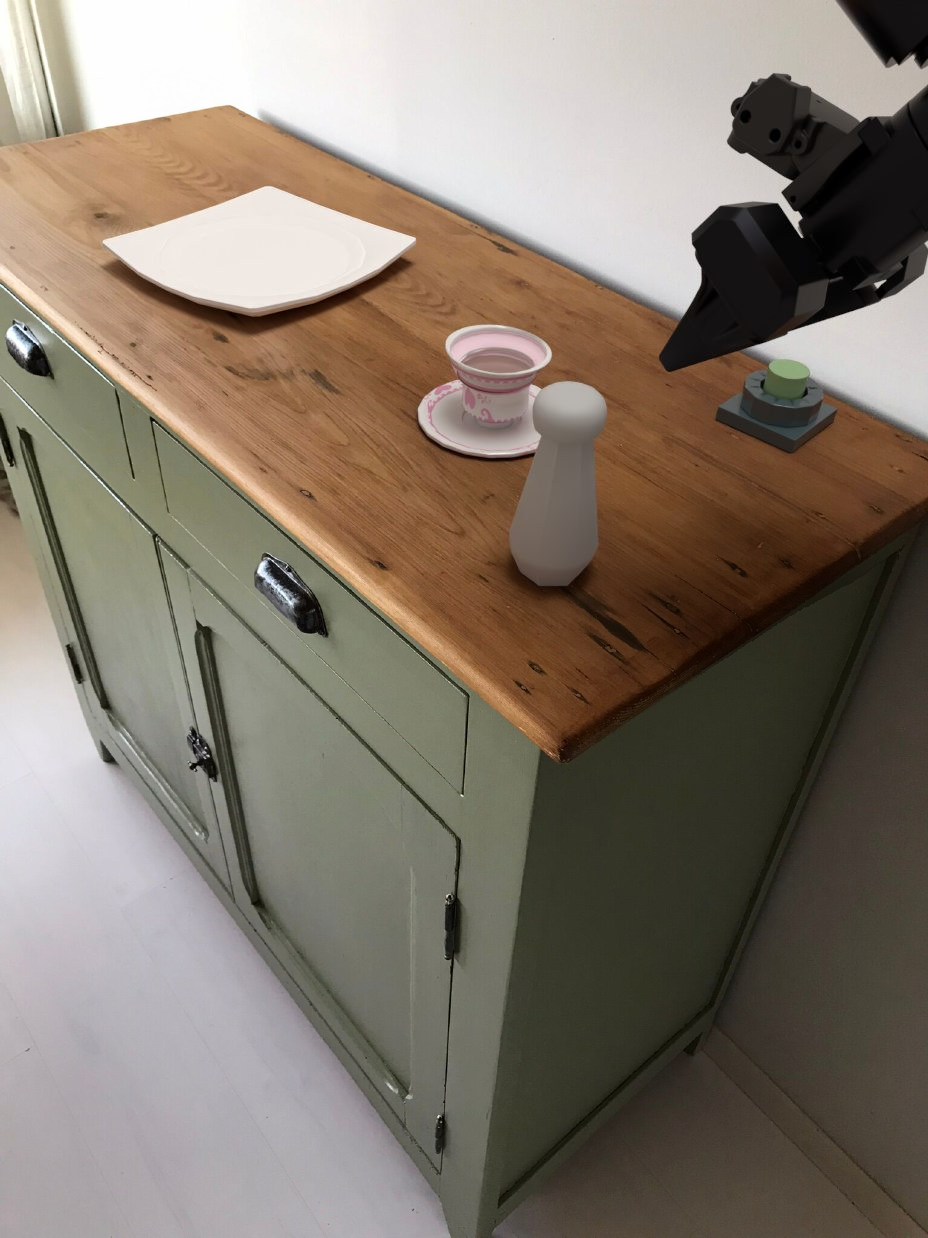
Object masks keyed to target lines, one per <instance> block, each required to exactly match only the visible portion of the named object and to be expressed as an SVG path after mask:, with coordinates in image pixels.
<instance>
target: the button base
mask: <svg viewBox="0 0 928 1238" xmlns="http://www.w3.org/2000/svg"><path fill="white" fill-rule="evenodd" d="M767 370H768V368H767V369H760V370H755V371H753V372H752V373H750V374H749V375H747V376H746V377H745V378H744V382H743V386H742V391H740V392H738V393H737V394H735V395H734V396H732V397H731V398H729V399H728V400H725V402H723V403H721V404H720V405H718V406H717V411H716V414H715V420H717V421H718V422H721V423H723V424H725V425H728V426H730V427H732V428H734V429H735V430H739V431H741V432H743V433H745V434H747V435H749V436H752V437H754V438H756V439H759V440H761V441H763V442H765V443H768V444H769V445H772V446H774V447H776V448H778V449H781V450H782V451H785V452H787V453H789V454H792V453H793V452H795V451H796V450H797V449H799V448H801V446H803V445H804V444H806V443H807V442H808V441H809V440H810V439H812V438H813V437H815V436H816V435H817V434H819V433H820V432H821V431H823V430H824V429H825V428H826V427H828V426H830V425H831V424H832V423H833V422H834V421H835V418H836V415H837V413H838V410H839V409H838V407H835V406H833V405H830V404H829V403H826V402H823V401H824V388H823V387H822V386H821V385H820V384H818V382H816V381H815V380H814V379H813V378H811V377H809V379H808V382H807V385H806V388H805V392H804V395H803V397H802V398H801V399H796V400H786V399H779V398H776V397H774V396H771V395H769V394H766V393H765V392H764V391H763V385H764V381H765V378H766V374H767Z"/></svg>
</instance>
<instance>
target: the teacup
mask: <svg viewBox="0 0 928 1238" xmlns="http://www.w3.org/2000/svg"><path fill="white" fill-rule="evenodd" d="M444 343H445V344H444V348H445V351H446V354H447V357H448V360H449V362H450V364H451V367H452V369H453V371H454V373H455V375H456V377H457V379H456V380H452V381H449V382H447V383H444V384H441V385H439V386H437V387H435V388H434V389H432V390H431V391H430V392H428V393H427V394H426V395H425V396H423V398H422V400H421V402H420V404H419V406H418V408H417V418H418V419H417V420H418V425H419V427H421V429H422V430H423V432H424V433H425V435H426V436H427V437H428V438H429V439H430V440H433V442H436V443H437V444H439V445H440V446H441V447H443V448H446V449H449V450H451V451H453V452H456V453H460V454H463V455H466V456H467V455H468V456H474V457H480V458H488V459H496V458H497V459H498V458H500V459H501V458H516V457H522V456H526V455H530V454H535V453H536V450H537V447H538V444H539V441H540V438H541V435H540V434H539V433H538V432H537V431H536V430H535V428H534V424H533V417H532V411H533V404H534V400H535V397H536V396H537V394H538V393H539V392H540V390H542V389H543V388H540V387H539V386H537V385H536V384H535V385H534V384H533V383H534V382H535V381H536V379H537V377H538V374H540V373H541V372H542V371H543V369H544V368H545V367H546V366H548V365H549V363H550V362H551V360H552V358H553V357H552V356H553V353H552V350H551V347H550V346H549V344H548V343H547V342H546V341H544V340H543V339H542V338H541V337H539V336H537V335H535V334H533V333H531V332H530V331H529V332H528V331H526V330H523V329H521V328H518V327H517V328H516V327H513V326H508V325H502V324H476V325H470V326H465V327H462V328H459V329H457V330H455V331H454V332H452V333H450V334H449V336H448V337H446V340H445V342H444Z"/></svg>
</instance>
